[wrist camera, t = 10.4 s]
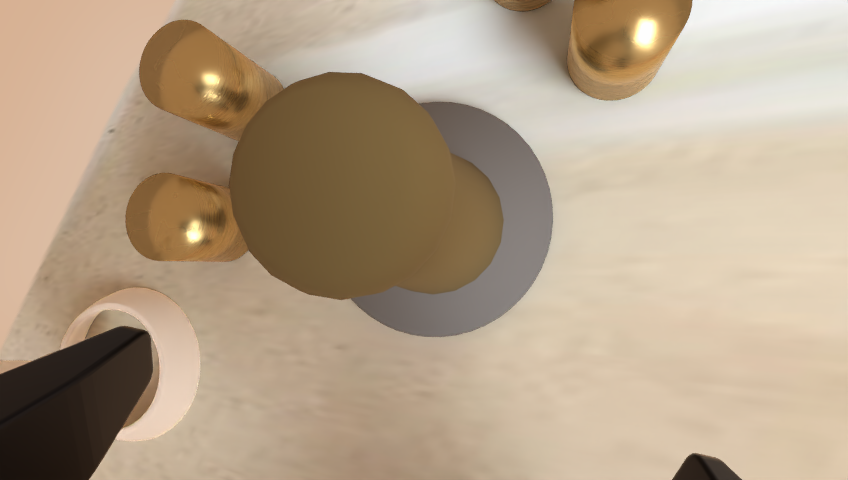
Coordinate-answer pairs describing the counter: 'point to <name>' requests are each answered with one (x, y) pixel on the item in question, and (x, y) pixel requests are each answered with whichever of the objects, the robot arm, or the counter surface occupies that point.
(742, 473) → the counter surface
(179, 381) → the vr controller
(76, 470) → the robot arm
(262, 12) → the counter surface
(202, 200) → the cylinder
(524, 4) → the cylinder
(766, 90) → the counter surface
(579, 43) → the cylinder
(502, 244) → the coaster
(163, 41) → the cylinder
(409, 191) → the brown pawn piece
